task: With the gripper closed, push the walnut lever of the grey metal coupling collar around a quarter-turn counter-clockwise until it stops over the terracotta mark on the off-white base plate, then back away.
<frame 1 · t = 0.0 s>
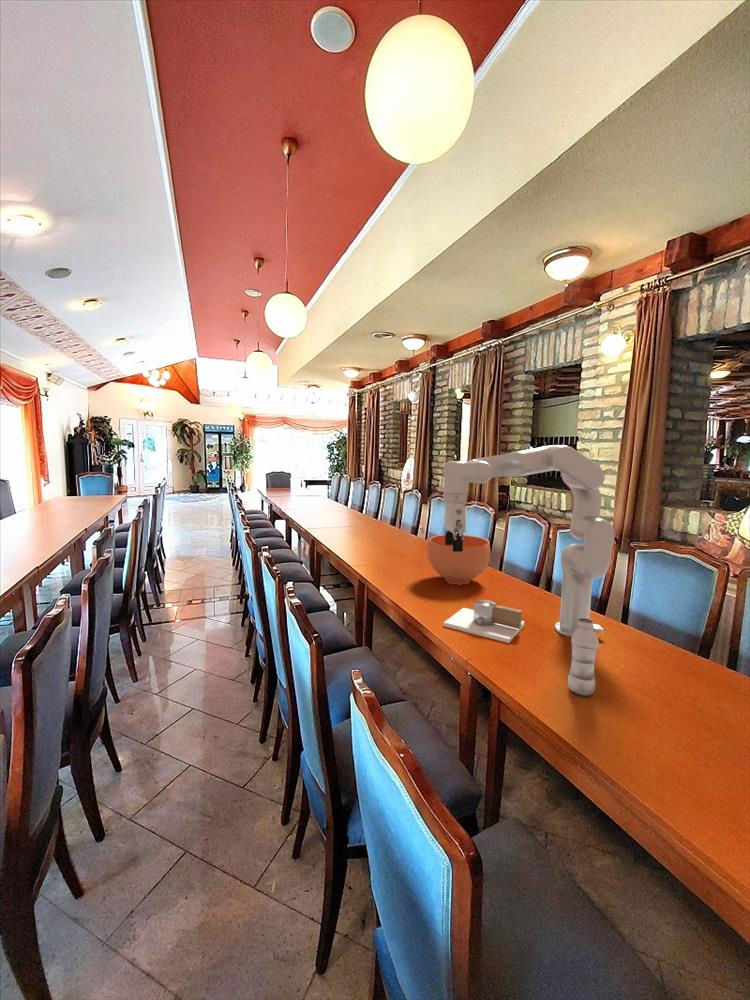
hand: (453, 548, 146), 31 cm above the table, tool pointing down, fingers open, 9 cm apart
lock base: (484, 625, 159), on the table
bowl: (457, 581, 211), on the table
plastic bottle: (580, 692, 116), on the table
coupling: (496, 615, 155), point 5 cm above the table, hinge at 0.0°
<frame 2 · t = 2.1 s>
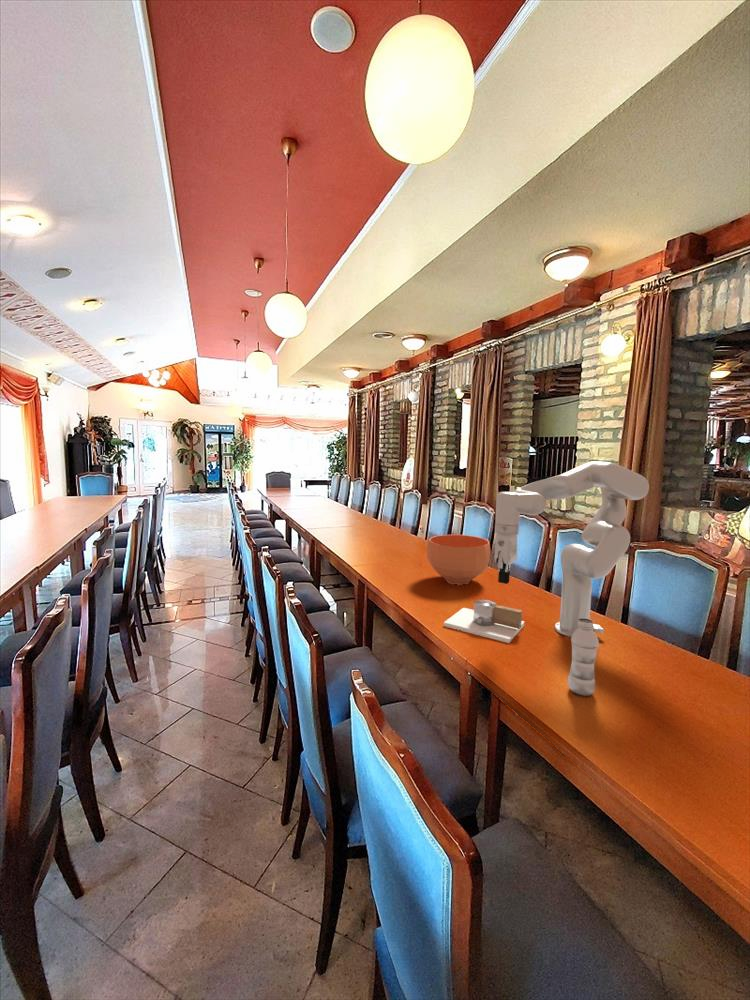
hand: (503, 582, 145), 20 cm above the table, tool pointing down, fingers closed
nothing on the table moved.
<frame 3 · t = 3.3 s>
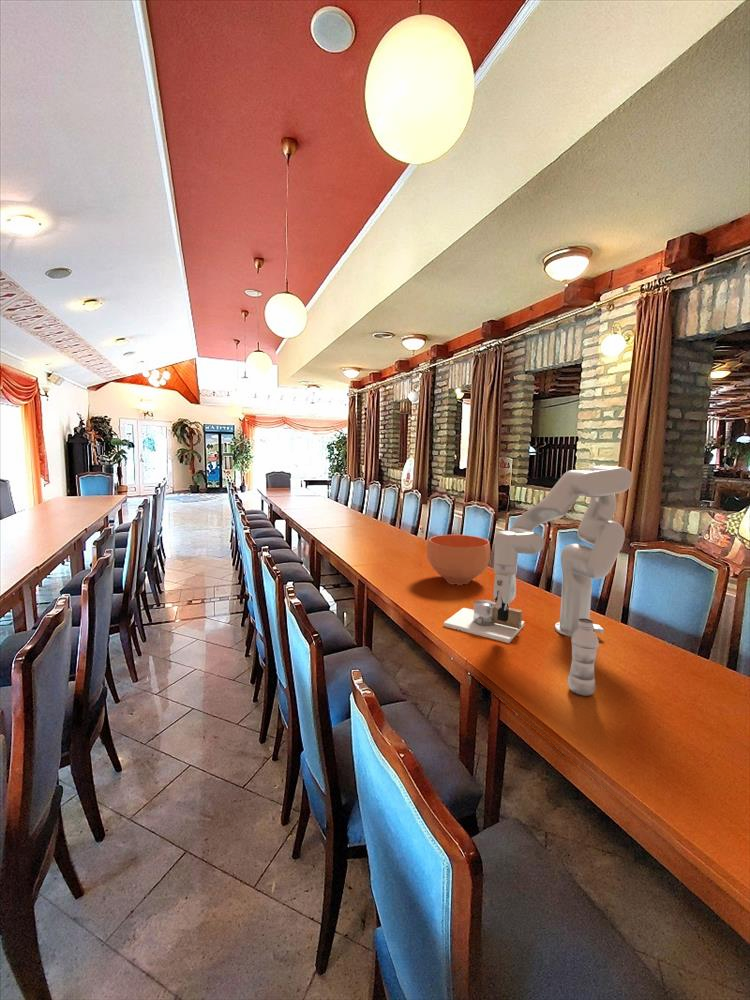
hand: (502, 620, 147), 7 cm above the table, tool pointing down, fingers closed
nothing on the table moved.
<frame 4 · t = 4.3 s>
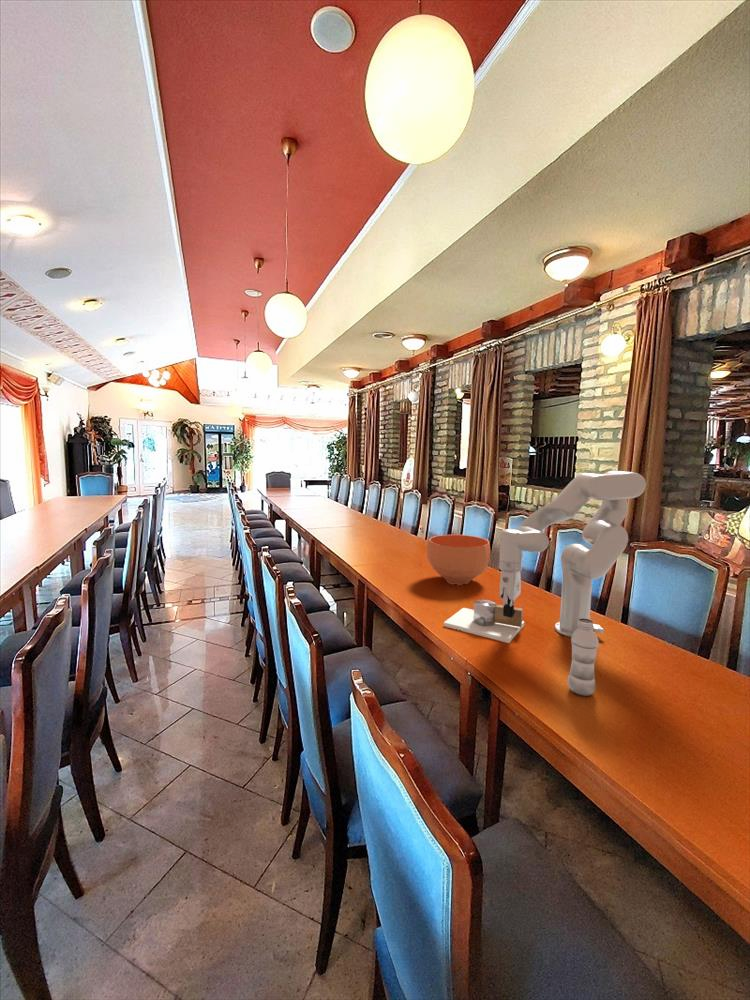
hand: (508, 615, 151), 7 cm above the table, tool pointing down, fingers closed
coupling: (497, 614, 156), point 5 cm above the table, hinge at 8.1°, touching gripper
everything else where it was.
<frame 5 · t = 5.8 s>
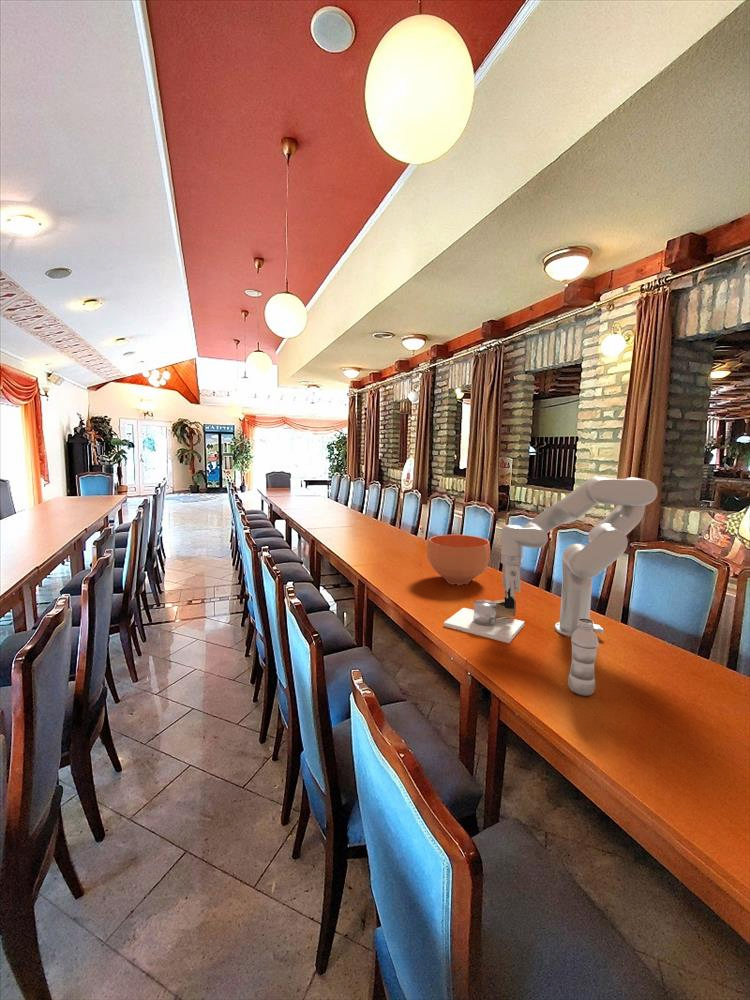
hand: (509, 607, 158), 7 cm above the table, tool pointing down, fingers closed
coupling: (494, 610, 160), point 5 cm above the table, hinge at 56.3°, touching gripper
everything else where it was.
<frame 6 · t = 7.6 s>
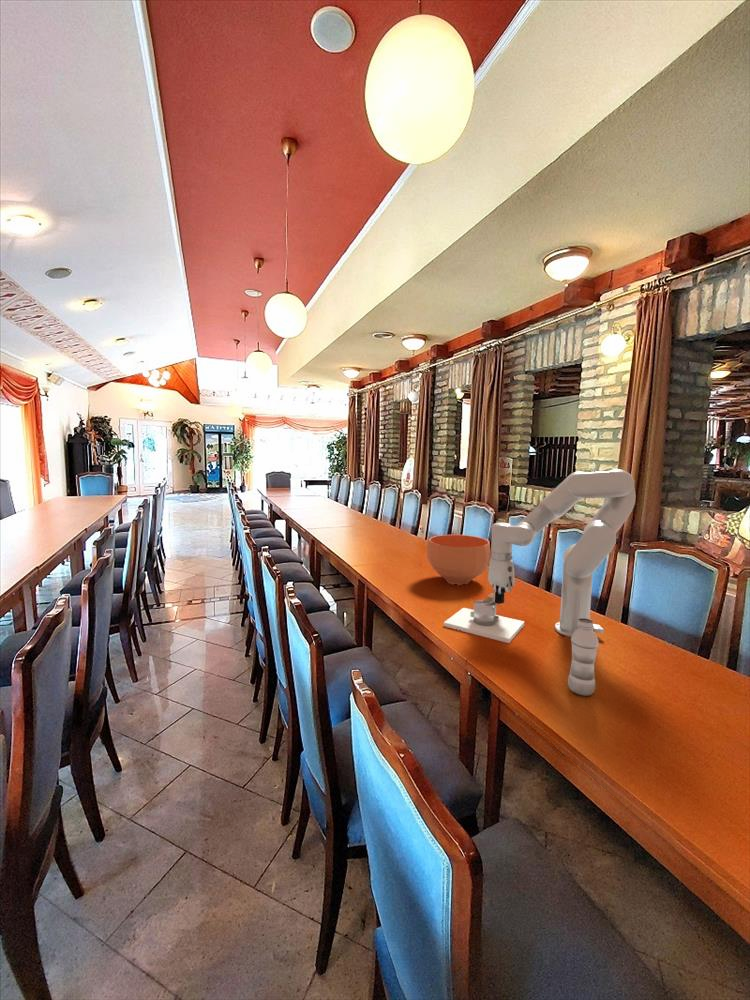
hand: (499, 602, 164), 7 cm above the table, tool pointing down, fingers closed
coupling: (487, 608, 162), point 5 cm above the table, hinge at 95.7°, touching gripper
everything else where it was.
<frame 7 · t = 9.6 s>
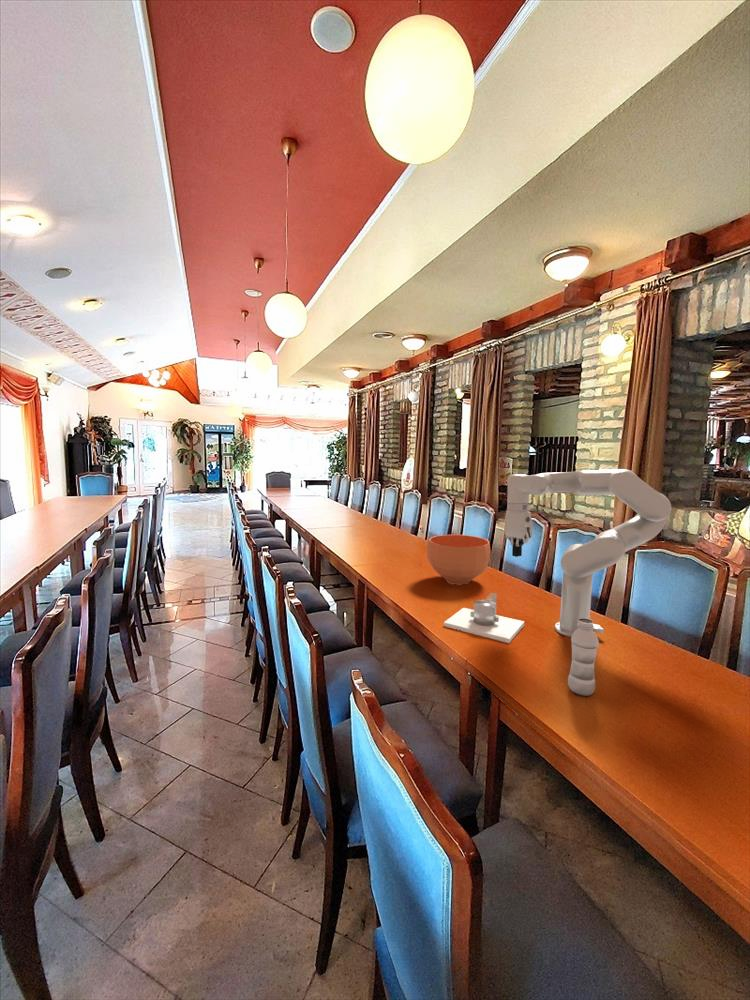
hand: (516, 555, 162), 25 cm above the table, tool pointing down, fingers closed
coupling: (487, 608, 162), point 5 cm above the table, hinge at 95.8°
everything else where it was.
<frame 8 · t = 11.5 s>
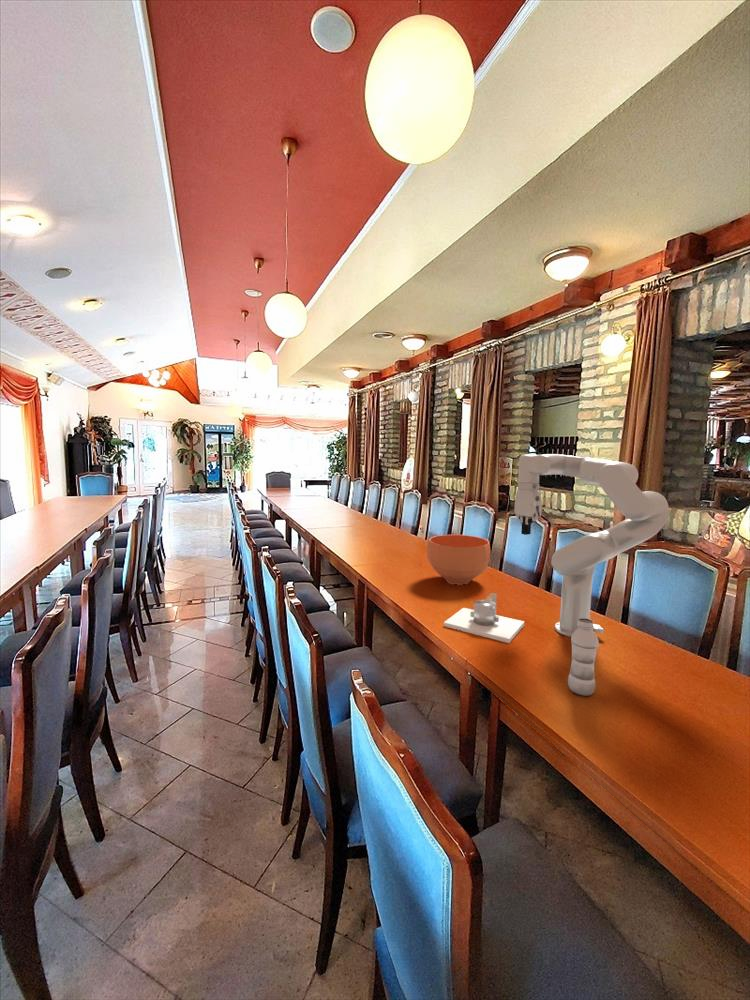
hand: (525, 534, 167), 32 cm above the table, tool pointing down, fingers closed
nothing on the table moved.
at the end: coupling at +96° (first picture: +0°); the gripper is holding nothing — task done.
